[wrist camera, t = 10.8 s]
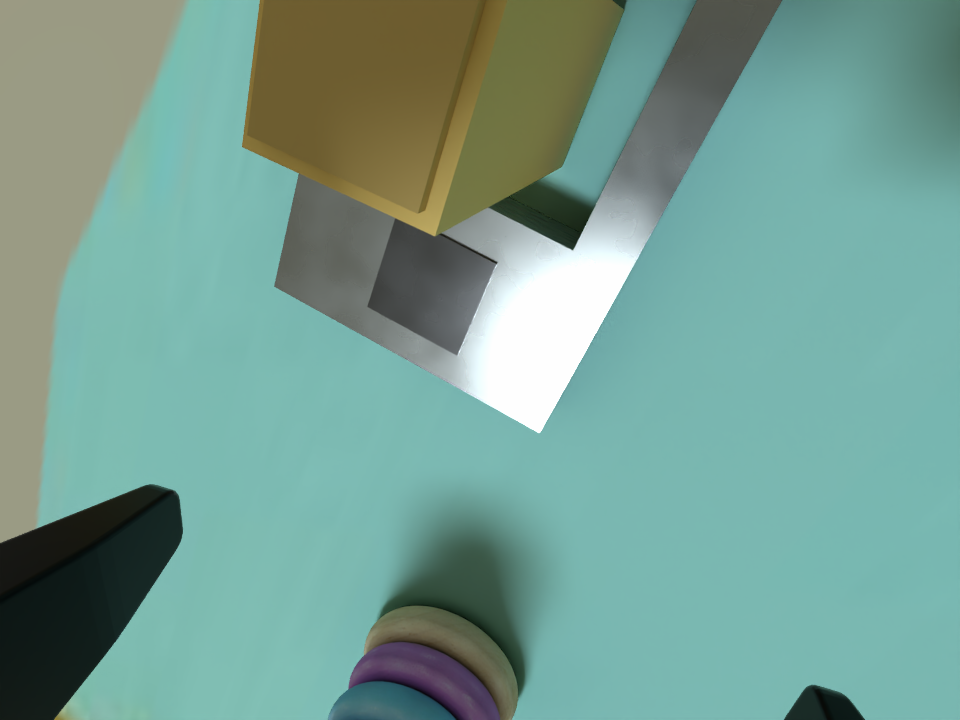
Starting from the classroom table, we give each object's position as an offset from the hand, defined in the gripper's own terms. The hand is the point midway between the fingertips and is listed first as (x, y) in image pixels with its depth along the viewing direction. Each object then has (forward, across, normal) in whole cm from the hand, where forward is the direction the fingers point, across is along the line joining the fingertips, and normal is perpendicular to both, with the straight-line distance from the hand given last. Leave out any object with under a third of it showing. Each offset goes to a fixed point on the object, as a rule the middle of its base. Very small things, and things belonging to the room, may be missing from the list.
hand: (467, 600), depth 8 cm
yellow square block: (+14, +3, -6) cm, 16 cm away
